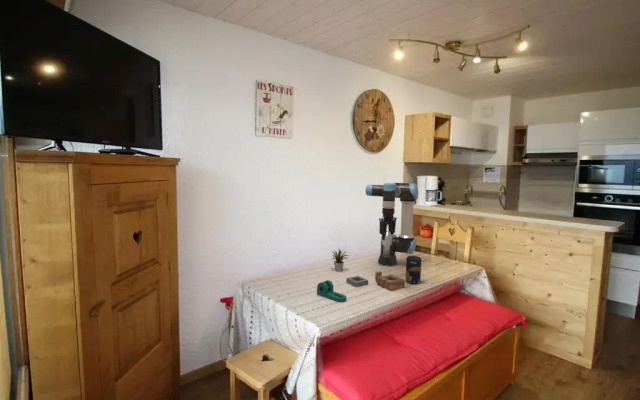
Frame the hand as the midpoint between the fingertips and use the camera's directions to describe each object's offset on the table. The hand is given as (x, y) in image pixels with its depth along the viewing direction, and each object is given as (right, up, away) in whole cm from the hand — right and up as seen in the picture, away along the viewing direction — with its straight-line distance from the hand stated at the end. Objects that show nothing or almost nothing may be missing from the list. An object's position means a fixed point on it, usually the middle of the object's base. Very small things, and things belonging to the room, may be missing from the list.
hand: (386, 244), depth 207 cm
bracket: (-35, -28, -19) cm, 49 cm away
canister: (+19, -27, +11) cm, 35 cm away
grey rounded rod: (0, -8, +1) cm, 8 cm away
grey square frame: (-18, -26, +5) cm, 32 cm away
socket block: (+3, -27, +2) cm, 27 cm away
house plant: (-29, -23, +31) cm, 48 cm away
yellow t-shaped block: (-1, -26, +8) cm, 27 cm away
